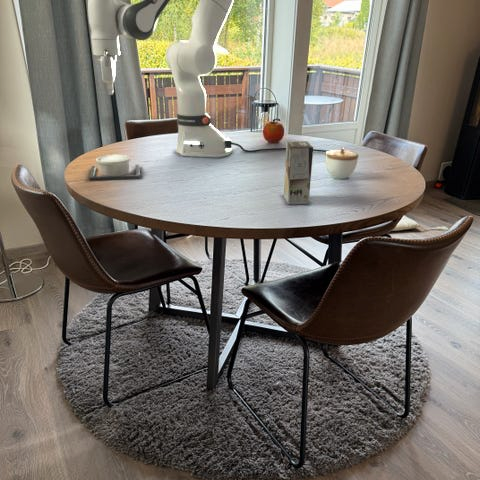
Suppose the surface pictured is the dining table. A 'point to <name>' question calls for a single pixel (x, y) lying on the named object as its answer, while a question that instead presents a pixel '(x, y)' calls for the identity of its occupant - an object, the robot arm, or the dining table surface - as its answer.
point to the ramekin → (113, 165)
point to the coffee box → (298, 172)
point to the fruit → (273, 131)
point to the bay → (92, 178)
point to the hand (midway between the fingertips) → (111, 94)
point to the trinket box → (341, 163)
